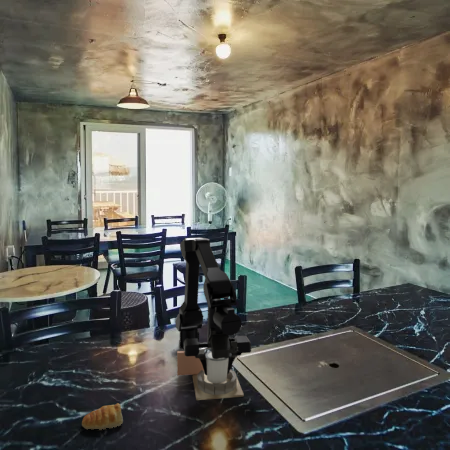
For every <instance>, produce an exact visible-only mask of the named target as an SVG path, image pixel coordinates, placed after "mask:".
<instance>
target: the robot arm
mask: <svg viewBox="0 0 450 450" xmlns="http://www.w3.org/2000/svg"><path fill="white" fill-rule="evenodd" d="M179 245H180V252H181V256H182V257H183V259H184V261H185V278H184V279H185V280H184V282H185V283H184V301H183V302H182V304H181V305H180V306H179V310H178V314H177V316H176V318H175V328H176V329H177V331H178V332H179V340H178V343H179V349H183V351H184V353H185V356H195V358H199V359H200V361H201V363H202V366H203V369H204V374H205V375H207V366H206V356H205V355H206V352H205V351H206V350H210V351H211V352H212V357H213V358H214V359H218V358H229V362H228V370H227V374H229V371H230V369H231V370H232V366H233V364H234V362H235V359H236V358H237V357H238V356H239V357H240V356H241V355H242V354H247V353H251V352H252V343H251V341H250V339H249V338H248V337H247V335H236V334H237V333H238V332H240V330H241V328H242V324H243V323H242V320H241V318H240V316H239V315H238V314H237V313H236V311H235V310H236V309H235V308H234V307H232V306H237V305H238V302H237V299H238V296H237V294H236V290H235V287H234V285H233V282H232V281H231V280H230V277H229V276H228V275H227V273H226V272H225V271H223V270H221V269H220V267H219V264H218V262H217V260H216V259H217V258H216V257H215V254H214V252H213V249H212V248H211V240H210V239H209V238H206V237H187V238H186V237H184V239H182V241H181V242H180V244H179ZM200 267H201V270H202V274H203V276H204V282H203V287H202V288H203V293H204V294H203V295H204V297H205V301H206V303H207V328H206V329H207V333H206V334H207V335H206V338H207V339H206V341H204V342H200V330H201V329H202V327H203V324H204V323H203V321H204V315H203V311H202V309H201V307H200V305H199V304H198V301H199V283H200ZM199 329H200V330H199ZM234 335H236V336H234ZM230 336H234V337H230Z"/></svg>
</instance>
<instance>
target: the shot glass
mask: <svg viewBox="0 0 450 450" xmlns="http://www.w3.org/2000/svg"><path fill="white" fill-rule="evenodd" d="M205 356H206V366H207V380H208V381H209V382H212V383H222V382H224V381H226V379H227V370H228V362H229V358H218V359H214V358H213V357H212V352H211V350H209V351H208V352H205Z"/></svg>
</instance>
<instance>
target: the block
mask: <svg viewBox="0 0 450 450" xmlns="http://www.w3.org/2000/svg"><path fill="white" fill-rule="evenodd" d="M176 359H177V360H176V361H177V363H176V367H177V368H176V373H177V376H189V375H191V376H192V374H198V373H199V372H200V371H201V370H203V371H204V369H203V366H202V363H201V361H200V359H199V358H195V356H185V353H184V350H177V354H176Z"/></svg>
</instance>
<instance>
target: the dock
mask: <svg viewBox="0 0 450 450" xmlns="http://www.w3.org/2000/svg"><path fill="white" fill-rule="evenodd" d="M191 377H192V381H193V388H194V393H195V400H196V401H204V400H205V401H206V400H216V399H229V398H241V397H244V396H245V395H244V391H243V390H242V386H241V385H240V381H239V378H238V376H237V374H236V371H234V370H233V369H232V368H231V369H230V371H229V374H227V379H226V381H224V382H222V383H212V382H209V381H208V380H207V375H205V372H204V371H203V370H201V371H200V372H199V373H198V374H192V375H191Z"/></svg>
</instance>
